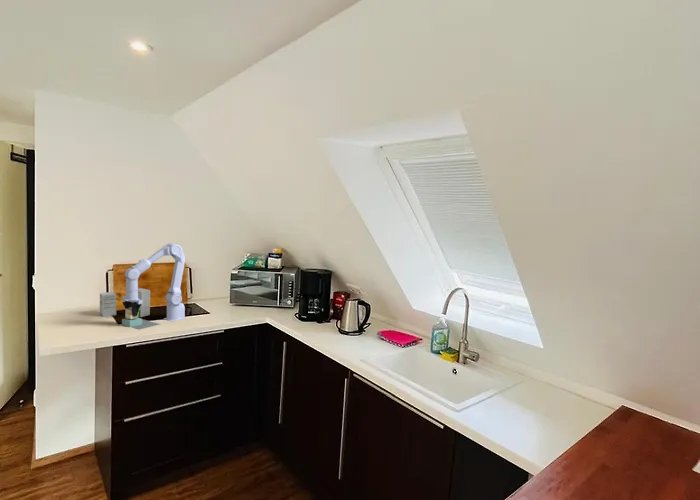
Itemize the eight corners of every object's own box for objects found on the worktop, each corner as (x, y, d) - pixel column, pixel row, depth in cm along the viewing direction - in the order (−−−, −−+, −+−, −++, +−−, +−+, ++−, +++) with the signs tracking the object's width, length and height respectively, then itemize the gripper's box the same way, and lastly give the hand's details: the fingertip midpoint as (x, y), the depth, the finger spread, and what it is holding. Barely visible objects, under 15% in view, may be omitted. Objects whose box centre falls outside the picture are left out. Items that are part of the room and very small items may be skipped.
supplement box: (99, 314, 249) (99, 292, 248) (113, 312, 254) (113, 291, 253) (102, 316, 244) (102, 295, 242) (116, 315, 248) (116, 293, 247)
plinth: (134, 322, 235) (134, 316, 234) (142, 324, 231) (142, 318, 231) (122, 324, 229) (122, 319, 228) (130, 327, 225) (130, 321, 225)
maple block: (133, 316, 233) (133, 307, 232) (138, 317, 230) (138, 308, 230) (125, 317, 229) (125, 308, 228) (130, 319, 227) (130, 310, 226)
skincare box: (130, 315, 248) (130, 289, 247) (140, 313, 254) (140, 287, 253) (141, 317, 245) (141, 291, 244) (150, 315, 251) (150, 289, 250)
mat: (142, 319, 241) (142, 319, 241) (160, 324, 233) (160, 324, 233) (120, 325, 229) (120, 324, 229) (139, 330, 222) (139, 329, 222)
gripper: (116, 289, 228) (116, 314, 229) (133, 293, 221) (133, 318, 223) (128, 287, 234) (129, 311, 236) (145, 291, 227) (145, 316, 229)
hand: (132, 315), depth 230 cm, fingers open, 5 cm apart
